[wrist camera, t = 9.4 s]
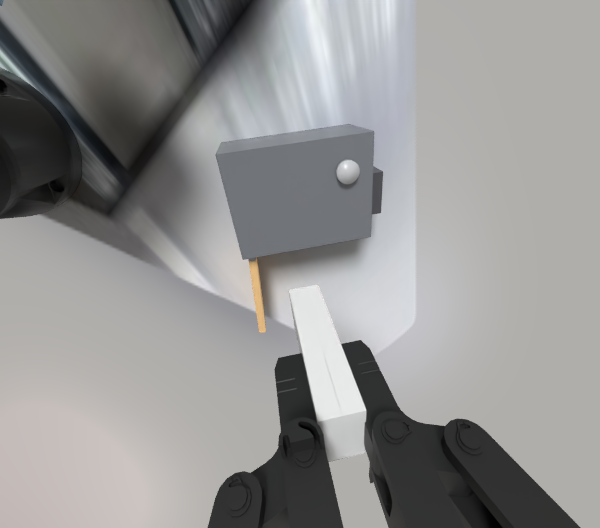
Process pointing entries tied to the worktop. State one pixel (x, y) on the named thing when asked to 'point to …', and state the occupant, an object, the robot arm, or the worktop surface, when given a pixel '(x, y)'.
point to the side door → (257, 293)
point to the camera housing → (301, 188)
